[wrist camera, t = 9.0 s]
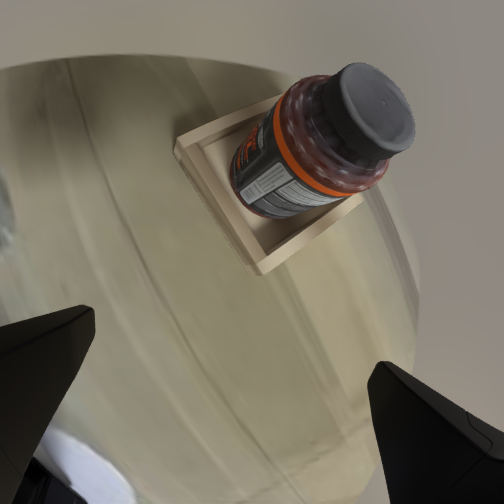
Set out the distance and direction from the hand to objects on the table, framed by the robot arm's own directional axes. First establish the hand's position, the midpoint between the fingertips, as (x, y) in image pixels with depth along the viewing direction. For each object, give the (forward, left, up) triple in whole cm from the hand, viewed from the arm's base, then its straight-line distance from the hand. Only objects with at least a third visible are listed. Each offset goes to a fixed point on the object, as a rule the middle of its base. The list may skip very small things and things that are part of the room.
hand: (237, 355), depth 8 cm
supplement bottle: (+9, +4, -10) cm, 14 cm away
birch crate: (+9, +4, -11) cm, 15 cm away
